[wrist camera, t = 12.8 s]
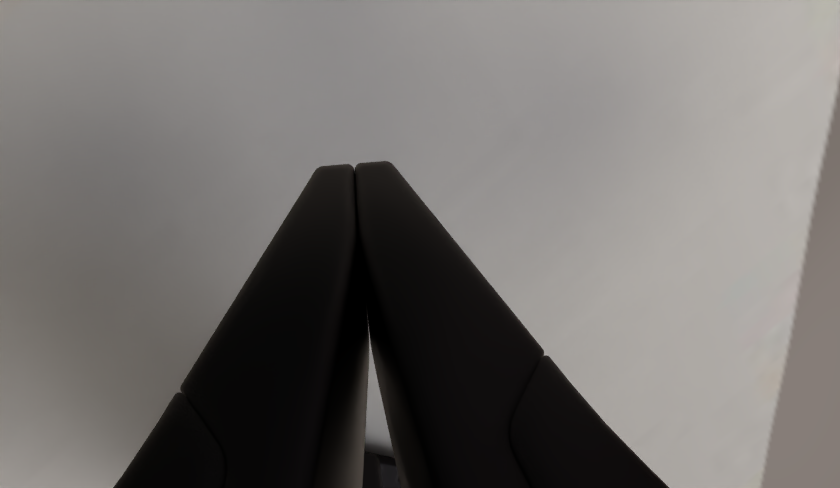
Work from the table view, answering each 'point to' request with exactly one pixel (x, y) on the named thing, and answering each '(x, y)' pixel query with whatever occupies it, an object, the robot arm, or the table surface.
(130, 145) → the table surface
